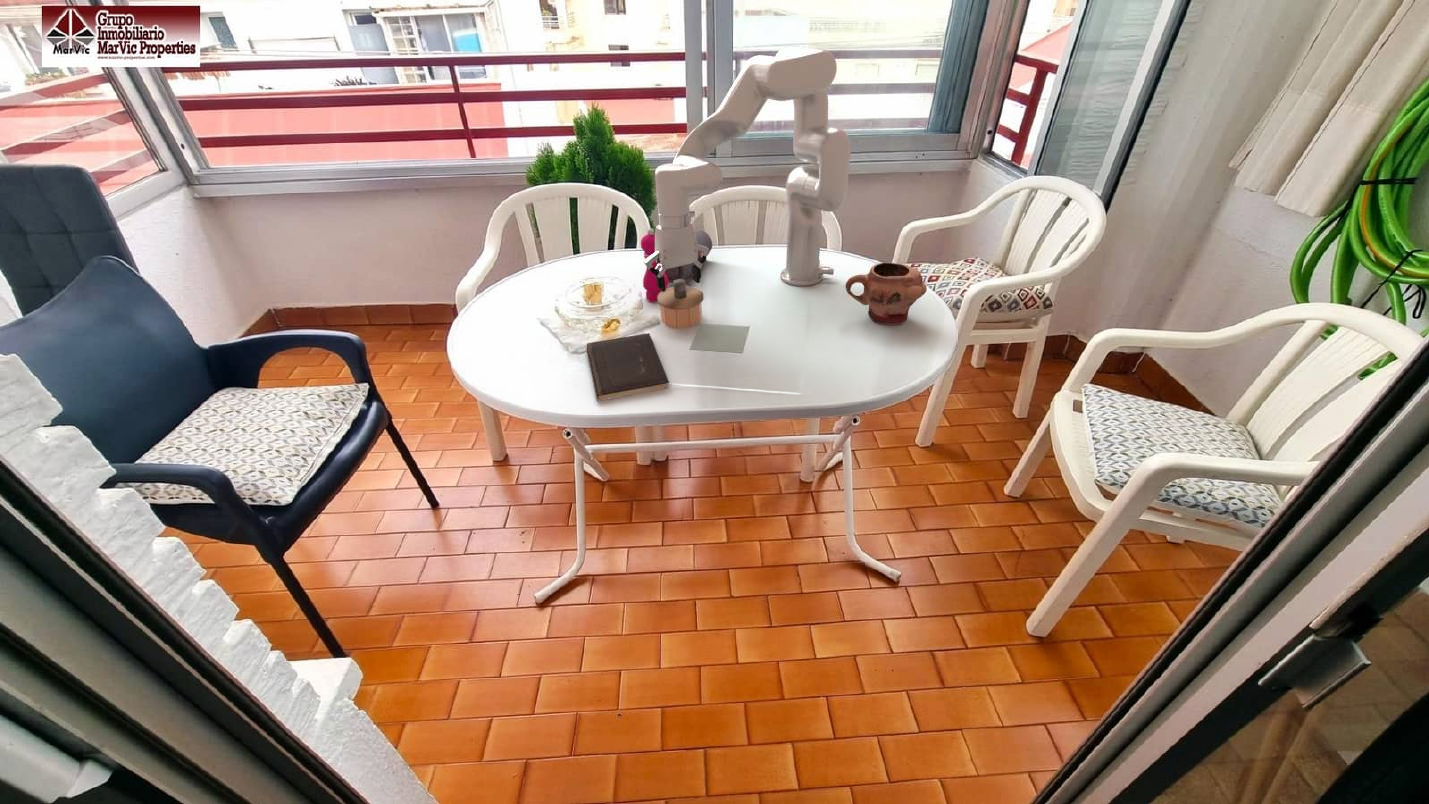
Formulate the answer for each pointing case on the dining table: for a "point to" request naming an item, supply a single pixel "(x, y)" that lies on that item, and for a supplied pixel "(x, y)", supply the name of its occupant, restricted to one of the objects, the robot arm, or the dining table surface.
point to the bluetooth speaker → (686, 270)
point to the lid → (680, 296)
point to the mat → (720, 338)
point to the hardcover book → (625, 366)
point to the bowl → (681, 316)
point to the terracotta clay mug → (889, 291)
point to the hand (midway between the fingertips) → (679, 285)
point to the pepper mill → (649, 277)
